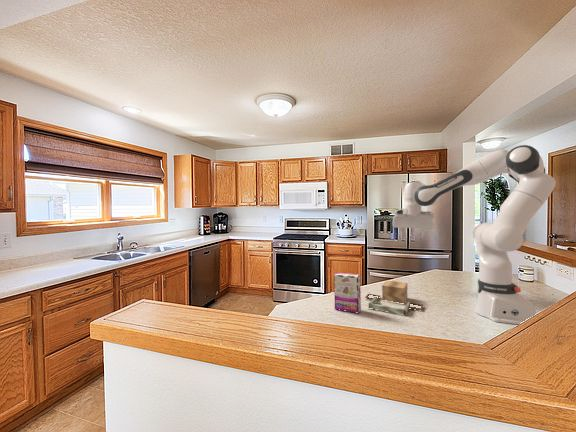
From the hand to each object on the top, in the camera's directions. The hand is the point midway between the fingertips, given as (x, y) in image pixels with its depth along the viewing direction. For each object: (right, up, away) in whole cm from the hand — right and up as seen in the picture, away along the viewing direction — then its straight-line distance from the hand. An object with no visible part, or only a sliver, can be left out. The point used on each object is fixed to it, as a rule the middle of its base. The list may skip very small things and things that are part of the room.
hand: (412, 236), depth 149 cm
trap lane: (-20, -31, -22) cm, 43 cm away
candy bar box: (-41, -32, -25) cm, 58 cm away
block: (-15, -31, -13) cm, 37 cm away
